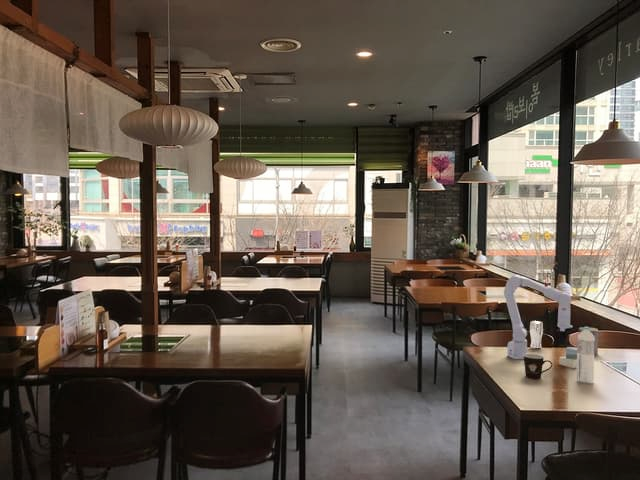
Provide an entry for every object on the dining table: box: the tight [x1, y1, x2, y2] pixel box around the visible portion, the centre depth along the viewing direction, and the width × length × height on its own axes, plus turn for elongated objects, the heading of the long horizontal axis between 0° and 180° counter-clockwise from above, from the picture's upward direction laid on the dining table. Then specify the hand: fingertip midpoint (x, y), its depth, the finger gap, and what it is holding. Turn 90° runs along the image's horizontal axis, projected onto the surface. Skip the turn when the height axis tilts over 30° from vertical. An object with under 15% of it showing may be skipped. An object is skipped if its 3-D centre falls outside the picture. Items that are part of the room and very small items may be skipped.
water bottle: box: [576, 326, 595, 385], centre depth 234 cm, size 7×7×25 cm
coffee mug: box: [523, 353, 553, 381], centre depth 239 cm, size 12×9×10 cm
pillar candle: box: [578, 326, 599, 356], centre depth 289 cm, size 10×10×15 cm
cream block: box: [558, 355, 577, 369], centre depth 263 cm, size 8×8×4 cm
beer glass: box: [529, 320, 544, 349], centre depth 302 cm, size 7×7×15 cm
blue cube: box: [565, 346, 578, 360], centre depth 263 cm, size 5×5×5 cm
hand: (563, 342), depth 268 cm, fingers open, 7 cm apart
